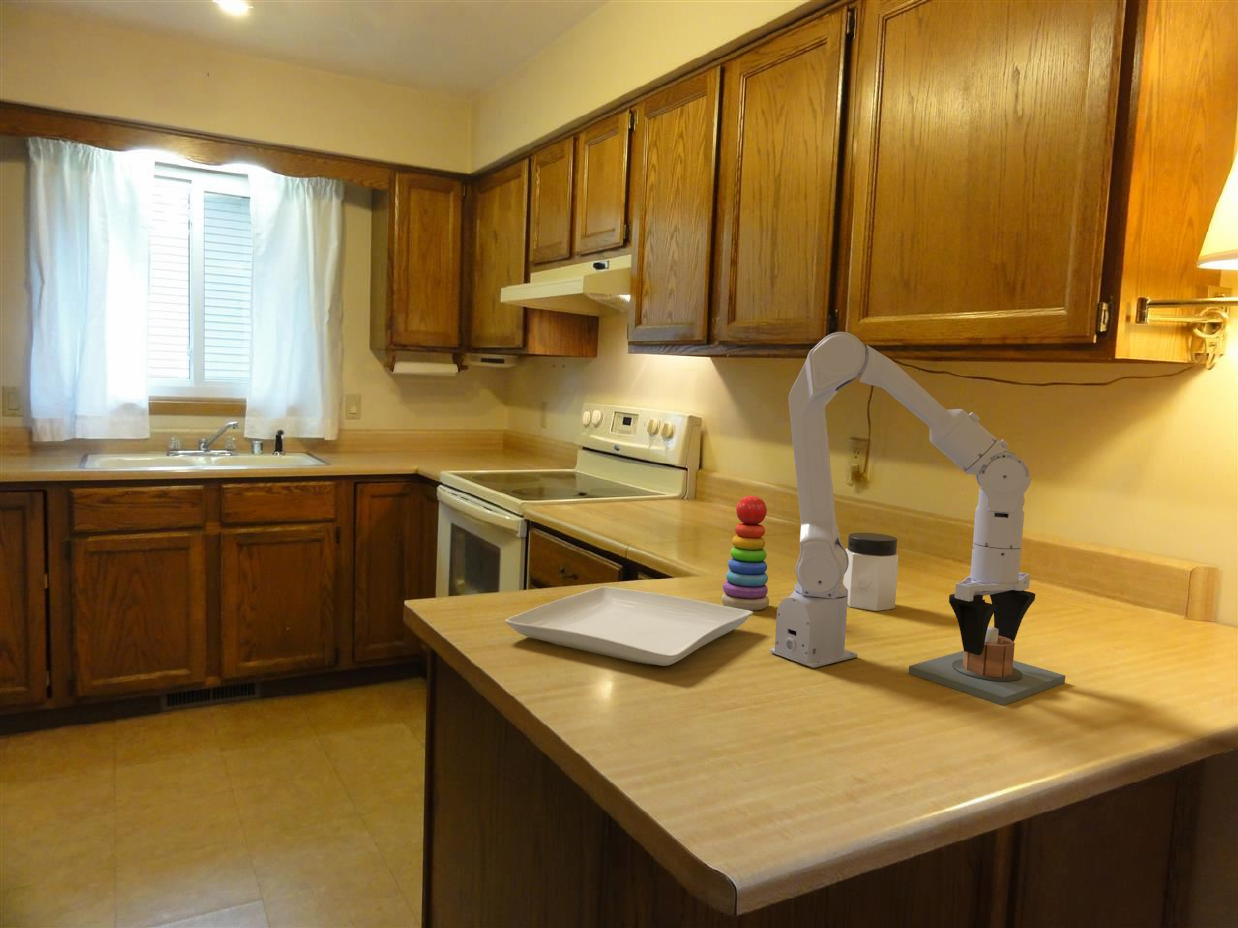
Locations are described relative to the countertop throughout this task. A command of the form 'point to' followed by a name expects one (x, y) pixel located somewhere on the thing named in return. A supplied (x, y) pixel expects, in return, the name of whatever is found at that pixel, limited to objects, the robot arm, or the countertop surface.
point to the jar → (871, 571)
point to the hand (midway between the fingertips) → (988, 648)
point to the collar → (992, 659)
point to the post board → (987, 677)
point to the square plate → (629, 624)
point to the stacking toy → (748, 559)
